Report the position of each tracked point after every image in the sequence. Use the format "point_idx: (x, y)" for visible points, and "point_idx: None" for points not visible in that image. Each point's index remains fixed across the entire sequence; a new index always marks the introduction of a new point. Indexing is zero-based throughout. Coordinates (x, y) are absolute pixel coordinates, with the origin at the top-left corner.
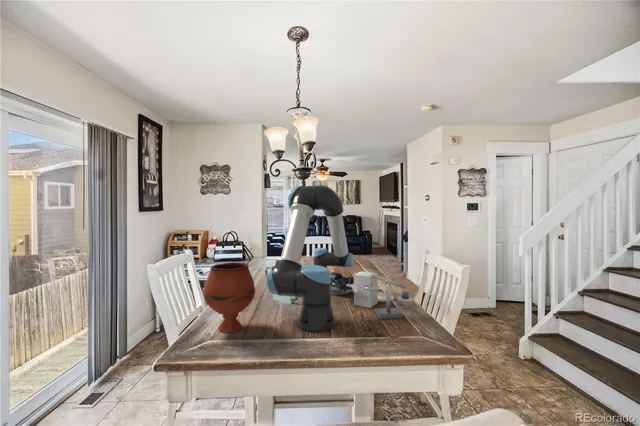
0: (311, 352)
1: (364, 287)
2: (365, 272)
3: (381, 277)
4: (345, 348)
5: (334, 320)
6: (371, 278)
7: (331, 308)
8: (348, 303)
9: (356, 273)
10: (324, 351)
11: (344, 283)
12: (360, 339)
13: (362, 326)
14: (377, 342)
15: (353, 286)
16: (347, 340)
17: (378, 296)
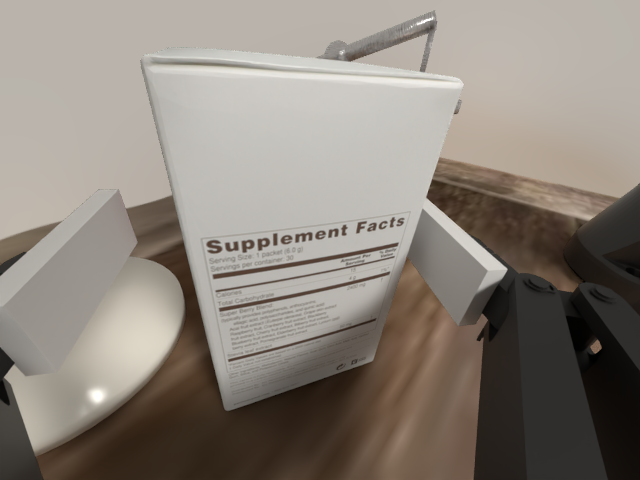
0: None
1: (461, 101)
2: (236, 52)
3: (377, 34)
4: (538, 189)
5: (578, 229)
6: (431, 42)
7: (624, 197)
8: (394, 425)
9: (393, 71)
10: (593, 199)
11: (534, 332)
12: (492, 190)
13: (459, 212)
14: (457, 176)
15: (438, 214)
16: (528, 198)
17: (92, 327)
